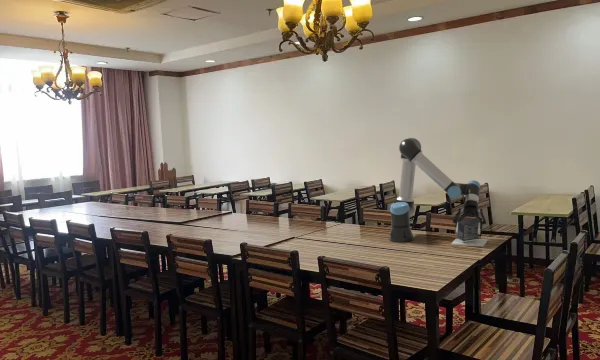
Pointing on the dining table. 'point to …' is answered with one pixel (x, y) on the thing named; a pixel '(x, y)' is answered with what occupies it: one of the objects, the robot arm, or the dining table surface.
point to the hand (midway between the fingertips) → (467, 232)
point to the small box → (467, 230)
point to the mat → (470, 242)
